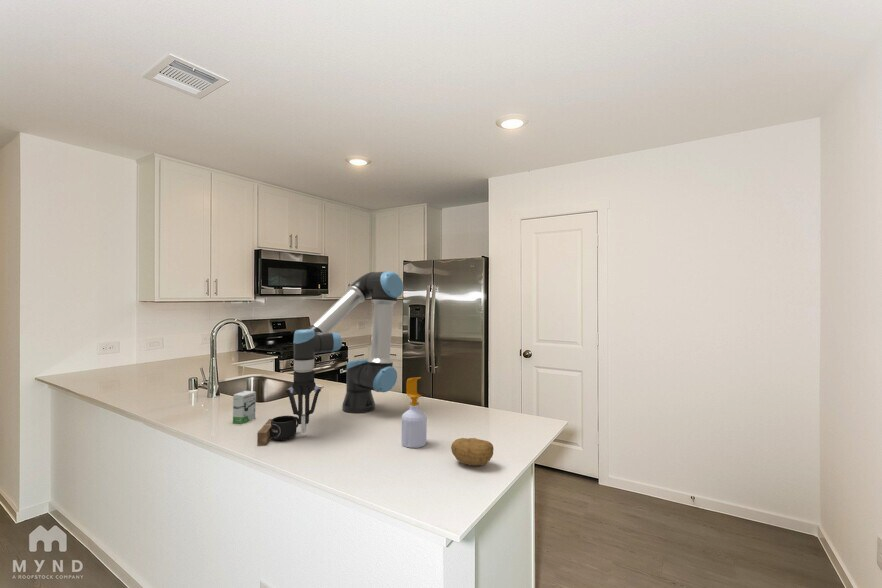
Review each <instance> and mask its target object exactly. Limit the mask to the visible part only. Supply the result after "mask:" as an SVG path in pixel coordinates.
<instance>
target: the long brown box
mask: <svg viewBox="0 0 882 588" xmlns="http://www.w3.org/2000/svg"><path fill="white" fill-rule="evenodd" d="M272 419H273V418H269V419H268V420H267V421H266V422H265V423H264V424H263V425H262V427H261V428H260V429H259V430H258V431H257V434H256V435H257V436H256V438H257V441H256V443H257V446H267V444H268V443H269V442H270V440H271V439H273V438H272V436H271V420H272Z"/></svg>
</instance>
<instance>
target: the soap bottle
mask: <svg viewBox="0 0 882 588" xmlns="http://www.w3.org/2000/svg"><path fill="white" fill-rule="evenodd" d="M420 379H422V377H421V376H417V377H416V376H415V377H409V378H407V380H406V388H405V389H406V396H408V398H409V397H410V400H411V402H409V409H408V410H406V411H405V412H403V414H402V415H401V445H402V446H403V447H406V448H409V449H416V448H417V449H418V448H422V447H425V446H426V444H427V432H428V431H427V429H428V428H427V414H426V413H425V412H424V411H422V410H421V409H420V402H418V399H419V398H422V395H421V394H419V392H418V380H420Z"/></svg>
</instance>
